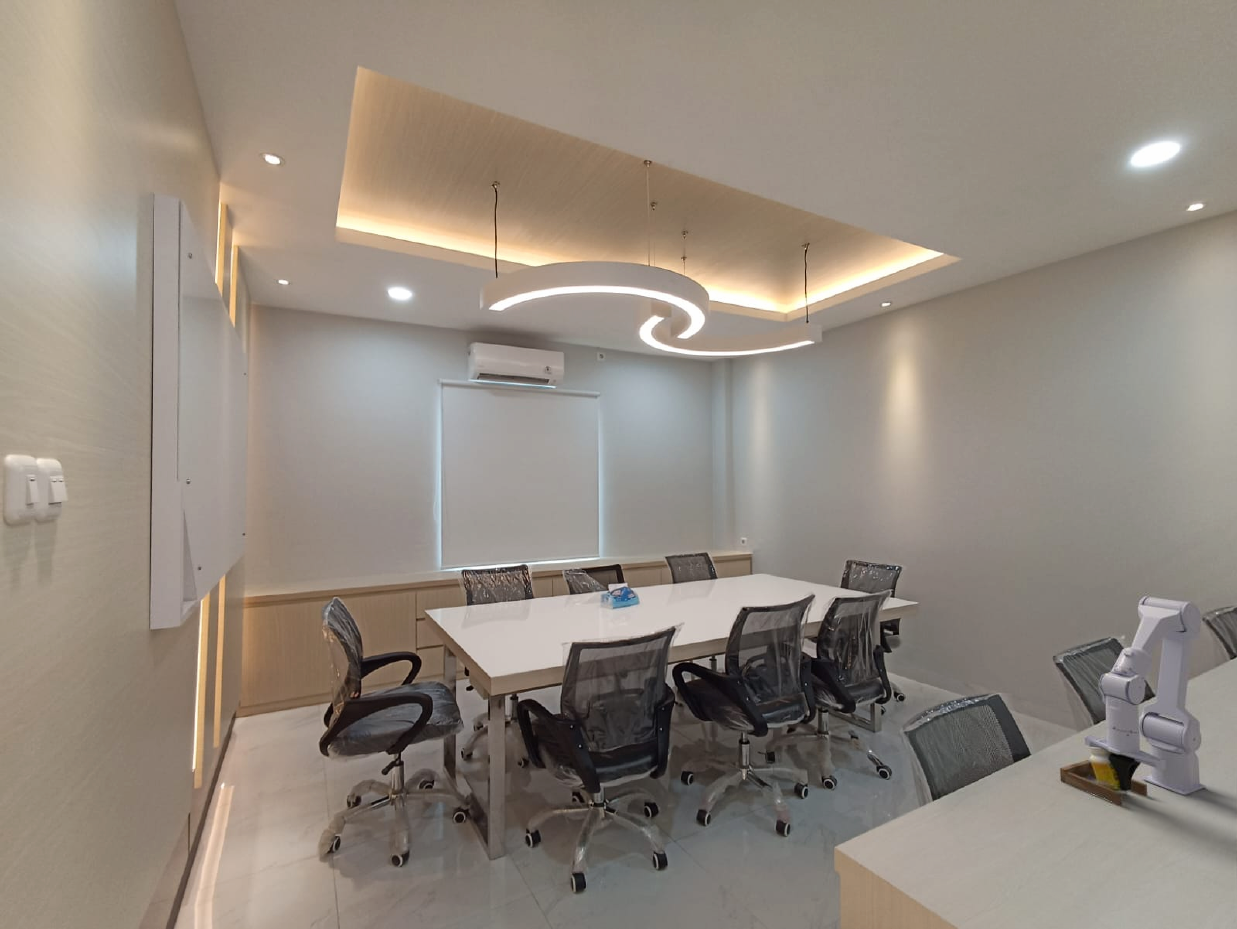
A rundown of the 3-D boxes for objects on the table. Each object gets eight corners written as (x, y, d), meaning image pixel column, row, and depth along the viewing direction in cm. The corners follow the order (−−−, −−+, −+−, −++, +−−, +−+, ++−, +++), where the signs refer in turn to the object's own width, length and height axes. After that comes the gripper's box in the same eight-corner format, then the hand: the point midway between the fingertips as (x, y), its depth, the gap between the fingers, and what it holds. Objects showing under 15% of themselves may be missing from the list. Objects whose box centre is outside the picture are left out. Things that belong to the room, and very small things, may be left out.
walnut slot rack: (1087, 772, 142) (1087, 760, 143) (1147, 795, 131) (1146, 782, 132) (1060, 780, 138) (1060, 768, 138) (1119, 805, 127) (1118, 792, 127)
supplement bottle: (1108, 787, 136) (1092, 743, 138) (1134, 790, 131) (1118, 745, 134) (1096, 792, 133) (1080, 747, 136) (1122, 796, 129) (1106, 749, 132)
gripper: (1076, 718, 136) (1077, 777, 135) (1152, 742, 123) (1154, 808, 122) (1093, 715, 139) (1095, 773, 138) (1169, 738, 125) (1172, 802, 124)
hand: (1124, 789), depth 130 cm, fingers closed, pressing on supplement bottle
